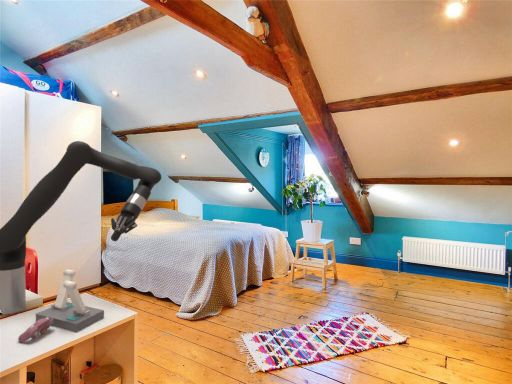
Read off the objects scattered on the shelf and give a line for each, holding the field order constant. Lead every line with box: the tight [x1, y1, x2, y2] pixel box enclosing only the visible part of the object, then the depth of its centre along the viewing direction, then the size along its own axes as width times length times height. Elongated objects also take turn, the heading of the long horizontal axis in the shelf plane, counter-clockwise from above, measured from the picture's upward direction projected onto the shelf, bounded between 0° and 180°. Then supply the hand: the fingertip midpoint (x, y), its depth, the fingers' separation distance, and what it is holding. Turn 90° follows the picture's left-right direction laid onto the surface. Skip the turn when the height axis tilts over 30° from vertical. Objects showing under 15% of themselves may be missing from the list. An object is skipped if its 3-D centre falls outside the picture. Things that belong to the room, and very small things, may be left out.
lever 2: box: [63, 280, 87, 314], centre depth 114 cm, size 4×2×14 cm, turn 70°
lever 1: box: [54, 268, 76, 309], centre depth 123 cm, size 4×2×14 cm, turn 70°
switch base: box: [35, 301, 105, 333], centre depth 119 cm, size 20×12×5 cm, turn 70°
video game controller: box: [18, 317, 54, 343], centre depth 107 cm, size 10×5×7 cm, turn 170°
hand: (113, 240), depth 131 cm, fingers closed
